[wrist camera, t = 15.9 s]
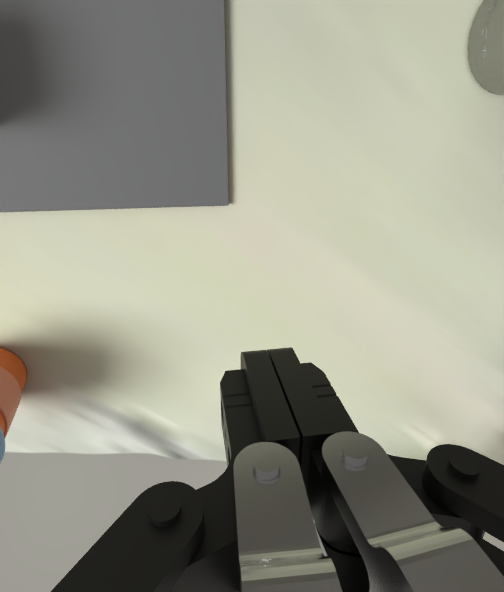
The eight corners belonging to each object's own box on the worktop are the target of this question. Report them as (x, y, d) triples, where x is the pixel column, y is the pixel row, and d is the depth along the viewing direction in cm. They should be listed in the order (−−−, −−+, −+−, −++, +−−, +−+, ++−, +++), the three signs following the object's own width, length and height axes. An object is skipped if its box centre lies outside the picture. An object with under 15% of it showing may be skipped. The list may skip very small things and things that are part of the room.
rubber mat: (221, -75, 28) (222, -79, 28) (227, 204, 36) (228, 205, 36) (-216, -112, 24) (-226, -117, 23) (-98, 213, 32) (-103, 215, 31)
